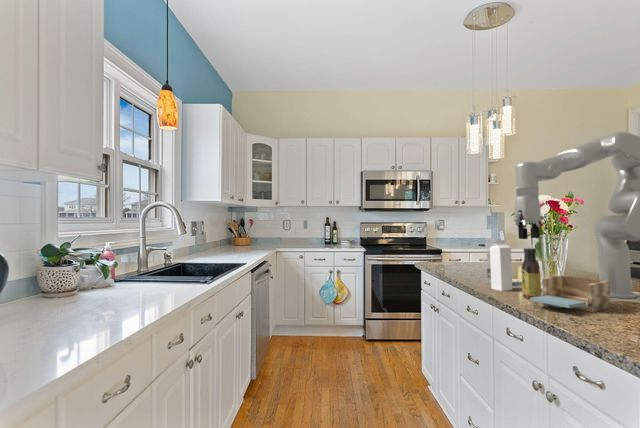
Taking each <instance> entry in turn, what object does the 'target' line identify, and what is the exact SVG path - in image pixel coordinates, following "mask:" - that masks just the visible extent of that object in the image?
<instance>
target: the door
mask: <svg viewBox="0 0 640 428" xmlns="http://www.w3.org/2000/svg"><path fill="white" fill-rule="evenodd" d="M529 301H533V302H537V303H543V305H545V306H549V307H554V308H561V307H563V308H568V309H570V308H571V309H573V308H572V307H578V306H584V305H586V302H582V301H576V300H570V299H565V298H559V297H553V296H548V295H547V296H543V295H541V296H539V297H531V298H530V299H529Z"/></svg>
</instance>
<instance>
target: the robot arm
mask: <svg viewBox="0 0 640 428" xmlns="http://www.w3.org/2000/svg"><path fill="white" fill-rule="evenodd" d="M609 157H611V158H610V159H611V164H612V166H613V168H614V169H615V171H616V172H617V175H618V181H617V184H616V185H615V189H613V192H612V195H611V197H610V199H609V201H608V209H609V211H610V213H613V214H615V215H613V214H612V215H611V214H610V215H605V216H601V217H599V218H597V220H595V222H594V224H593V233H594V236H595V239H596V245H597V257H598V258H597V262H598V277H599V279H598V280H604V281H610V298H616V299H636V298H637V297H638V293H636V292H633V291H632V289H633V288H634V284H632V278H631V257H630V256H631V254H630V248H629V245H628V244H627V242H626V241H633V242H634V241H640V136H639V135H636V134H634V133H631V132H630V133H629V132H625V131H618V132H614V133H611V134H607V135H604V136H600V137H598V138H595V139H593V140H590V141H587V142H585V143H582V144H580V145H577V146H575V147H573V148H570V149H568V150H565V151H563V152H562V151H561V152H560V153H558V154H555V155H553V156H549V157H548V158H547V157H546V158H545V159H542V160H540V161H539V160H538V161H523V162H518V163H517V164H516V165H515V188H516V189H515V192H516V193H515V194H516V197H515V201H514V212H513V213H514V219H513V220H514V222H515V225H516V226H517V230H518V239H519V240H527V239H528V228H527V225H528V223H530V238H531V239H540V237H541V235H540V228H541V224H542V221H543V217H542V216H541V205H540V204H541V203H540V200H539V196H540V194H539V183H540V182H545V181H549V180H554V179H556V178H559V177H560V176H561V175H562V173H566V172H571V171H576V170H578V169H581V168H585V167H586V166H590V165H593V164H595V163H597V162H598V161H599V162H600V161H602V160H604V159H607V158H609Z"/></svg>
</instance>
